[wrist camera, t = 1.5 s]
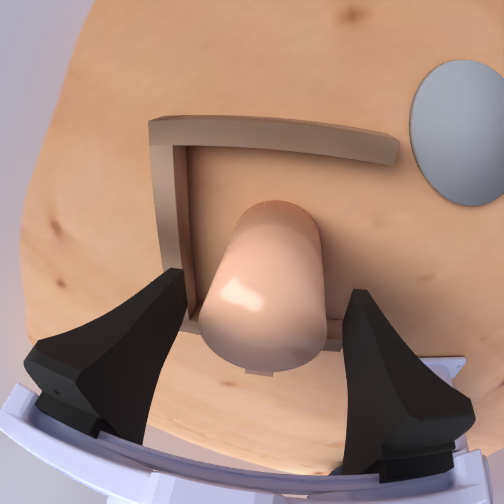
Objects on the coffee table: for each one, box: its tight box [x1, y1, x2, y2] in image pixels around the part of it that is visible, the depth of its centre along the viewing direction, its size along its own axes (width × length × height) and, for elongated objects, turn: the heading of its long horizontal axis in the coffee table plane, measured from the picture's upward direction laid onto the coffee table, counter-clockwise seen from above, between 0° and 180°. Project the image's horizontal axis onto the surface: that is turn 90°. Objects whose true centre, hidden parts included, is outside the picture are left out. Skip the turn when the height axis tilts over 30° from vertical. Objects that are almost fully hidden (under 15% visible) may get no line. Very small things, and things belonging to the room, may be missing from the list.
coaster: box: [409, 60, 504, 206], centre depth 11 cm, size 8×8×1 cm
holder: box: [148, 115, 399, 352], centre depth 16 cm, size 13×11×2 cm
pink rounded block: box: [198, 200, 327, 377], centre depth 14 cm, size 7×5×7 cm
